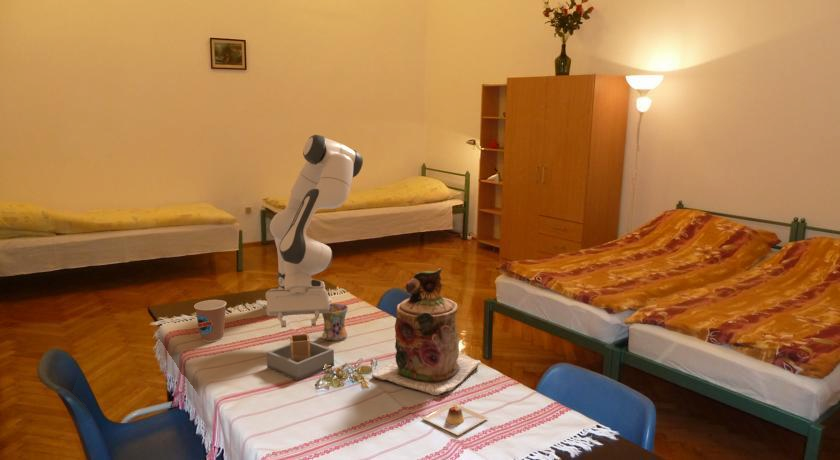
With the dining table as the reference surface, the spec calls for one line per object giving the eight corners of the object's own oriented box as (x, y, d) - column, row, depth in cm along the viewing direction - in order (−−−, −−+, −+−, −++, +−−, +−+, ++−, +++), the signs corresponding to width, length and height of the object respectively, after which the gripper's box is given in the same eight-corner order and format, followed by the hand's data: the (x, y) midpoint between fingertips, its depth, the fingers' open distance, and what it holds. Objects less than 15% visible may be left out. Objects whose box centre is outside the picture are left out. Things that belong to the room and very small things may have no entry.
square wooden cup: (291, 360, 185) (290, 335, 183) (309, 358, 186) (308, 333, 184) (291, 368, 179) (290, 342, 177) (310, 366, 180) (309, 340, 179)
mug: (353, 338, 205) (353, 308, 203) (330, 345, 199) (330, 314, 197) (334, 328, 214) (333, 300, 212) (311, 335, 208) (310, 305, 206)
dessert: (421, 422, 151) (421, 404, 151) (452, 405, 160) (452, 388, 159) (457, 439, 143) (458, 421, 142) (488, 421, 152) (489, 403, 151)
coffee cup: (189, 340, 203) (187, 306, 200) (213, 330, 212) (210, 297, 209) (212, 346, 198) (209, 311, 196) (235, 336, 207) (233, 302, 205)
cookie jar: (413, 350, 195) (413, 254, 189) (482, 367, 183) (485, 264, 177) (368, 379, 174) (367, 271, 168) (443, 400, 162) (444, 284, 156)
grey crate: (303, 353, 192) (303, 338, 191) (334, 365, 183) (333, 349, 182) (267, 367, 181) (266, 352, 180) (297, 380, 173) (297, 364, 172)
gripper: (265, 284, 196) (264, 323, 189) (328, 281, 200) (330, 319, 192) (266, 293, 201) (265, 332, 194) (328, 290, 205) (330, 328, 198)
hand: (298, 325), depth 193 cm, fingers open, 8 cm apart
